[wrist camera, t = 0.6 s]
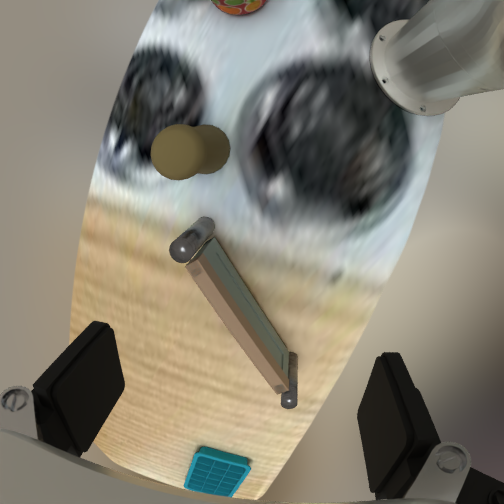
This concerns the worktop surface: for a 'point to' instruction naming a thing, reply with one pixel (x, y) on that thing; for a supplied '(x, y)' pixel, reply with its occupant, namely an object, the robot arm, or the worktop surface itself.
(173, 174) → the cork
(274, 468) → the worktop surface
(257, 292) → the worktop surface
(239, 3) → the smoothie
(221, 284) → the gate
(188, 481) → the ice cube tray
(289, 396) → the gate posts
